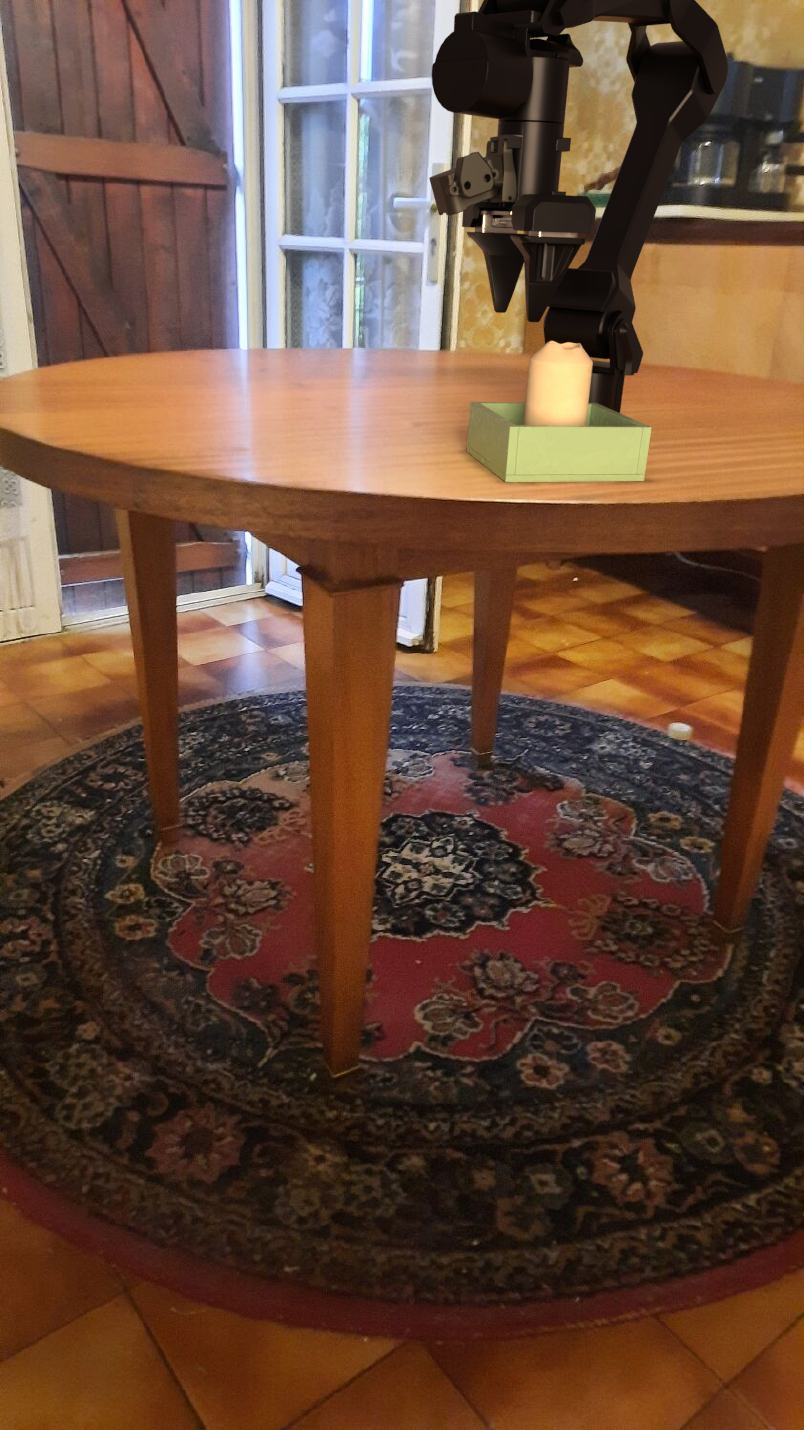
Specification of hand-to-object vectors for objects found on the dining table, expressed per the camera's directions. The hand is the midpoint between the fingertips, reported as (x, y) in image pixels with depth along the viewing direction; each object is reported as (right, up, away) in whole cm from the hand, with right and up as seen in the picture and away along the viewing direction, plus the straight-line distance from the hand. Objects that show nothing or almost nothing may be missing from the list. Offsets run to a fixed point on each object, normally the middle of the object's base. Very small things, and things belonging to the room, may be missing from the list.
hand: (516, 317), depth 95 cm
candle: (+3, -14, -2) cm, 15 cm away
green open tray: (+3, -15, -2) cm, 15 cm away
